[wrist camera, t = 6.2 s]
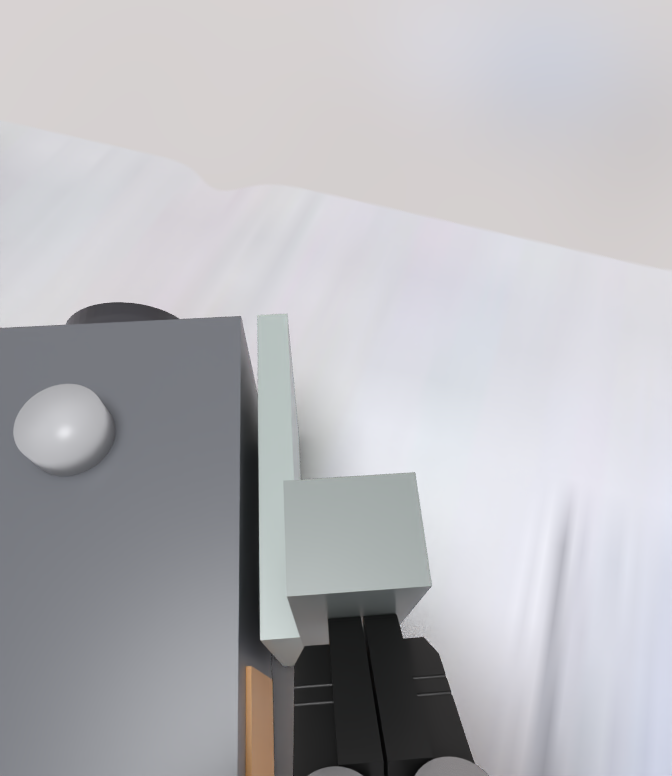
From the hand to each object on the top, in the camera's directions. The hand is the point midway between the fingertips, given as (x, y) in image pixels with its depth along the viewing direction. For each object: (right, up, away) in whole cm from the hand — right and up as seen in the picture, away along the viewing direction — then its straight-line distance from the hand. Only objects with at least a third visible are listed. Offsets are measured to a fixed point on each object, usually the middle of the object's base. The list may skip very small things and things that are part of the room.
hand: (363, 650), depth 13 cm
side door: (-1, -1, +13) cm, 13 cm away
